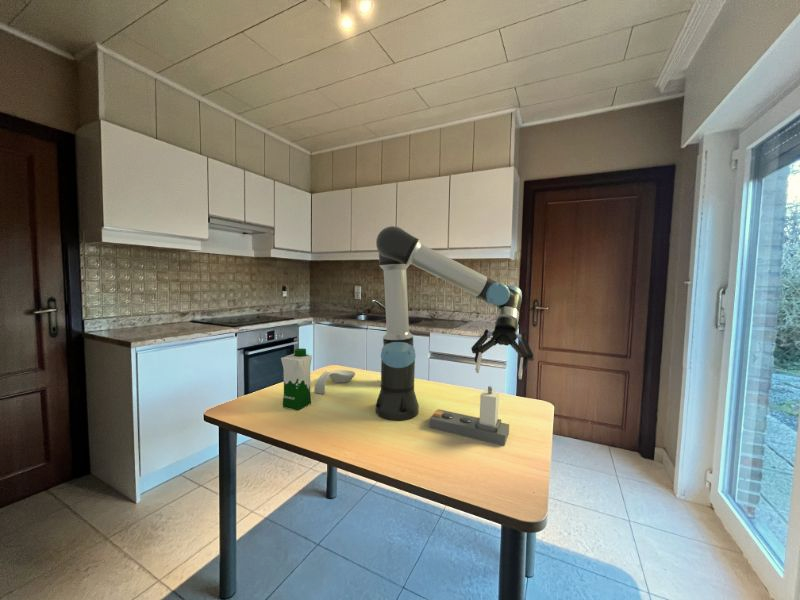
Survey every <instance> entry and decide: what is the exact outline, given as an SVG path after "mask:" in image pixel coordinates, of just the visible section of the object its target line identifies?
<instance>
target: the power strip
mask: <svg viewBox="0 0 800 600" xmlns="http://www.w3.org/2000/svg"><path fill="white" fill-rule="evenodd" d="M479 419H480V416H479V417H476V416H472V415H466V414H463V413H458V412H453V411H449V410H443V409H436V410H435V411H434V412H433V413H432V415H431V417H429V428H430V429H434V430H439V431H443V432H447V433H451V434H455V435H459V436H463V437H467V438H473V439H476V440H479V441H483V442H488V443H492V444H496V445H500V446H505V445H506V443H507V439H508V437H509V434H510V423H505V422H502V419H501V418H500V419H499V418H498V423H497V425H496V427H491V426H487V425H482V424H479Z"/></svg>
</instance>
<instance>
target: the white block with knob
mask: <svg viewBox="0 0 800 600" xmlns="http://www.w3.org/2000/svg"><path fill="white" fill-rule="evenodd" d="M479 397H480V398H479V399H480V400H479V401H480V403H479V417H480V419H479V424H482V425H487V426H491V427H496V425H497V423H498V419H499V402H500V401H499V399H500V392H499V391H494V390H493V386H487V389H483V391H481V393H480V396H479Z"/></svg>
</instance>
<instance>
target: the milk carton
mask: <svg viewBox="0 0 800 600" xmlns="http://www.w3.org/2000/svg"><path fill="white" fill-rule="evenodd" d="M312 358H313V355H311V354H307V349H306V348H295V349H294V353H291V354H289V355H288V354H287V355H286V356H284V357H280V360H281V364H282V368H283V397H282V398H283V399H282V408H285V409H290V410H294V411H300V410H302V409H303V408H305V407H307V406H309V405H311V404H312V399H311V397H312V396H311V395H312V394H311V365H312Z"/></svg>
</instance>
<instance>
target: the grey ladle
mask: <svg viewBox="0 0 800 600" xmlns="http://www.w3.org/2000/svg"><path fill="white" fill-rule="evenodd" d="M355 375H356V372H355V371H353V370H347V369H337V370H329V371H327V370H326V371H324V372H322V373H321V375H319V377H318V379H317V381H316V383H315V386H314V390H313V391H314V393H315V394H319V395H325V394H326V392H325V389H326V388H325V385H326V382H327V379H328V378H330V379H331V381H333V382H334V383H336V384H345V383H348V382H349V381H351V380H352V379H354V377H355Z"/></svg>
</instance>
